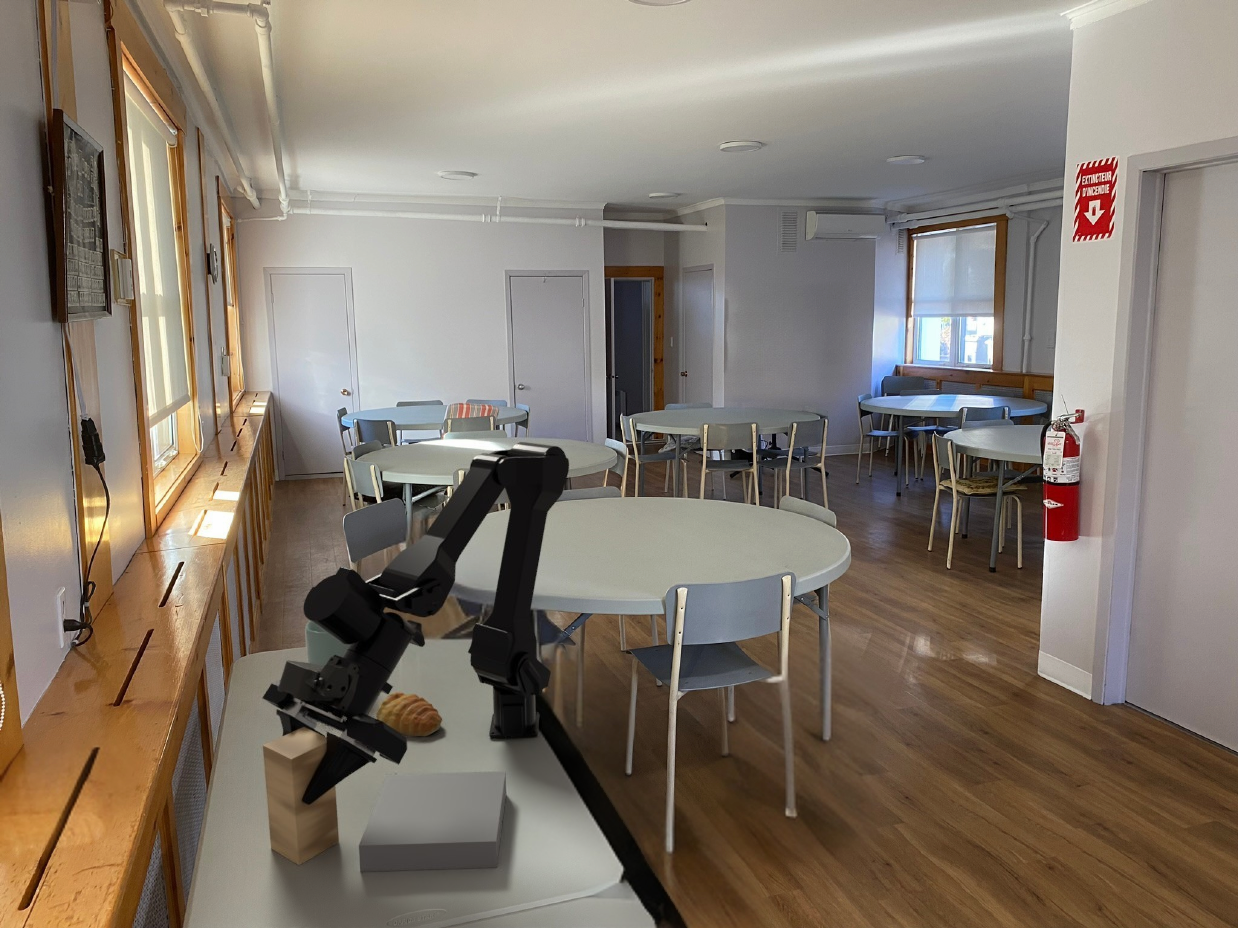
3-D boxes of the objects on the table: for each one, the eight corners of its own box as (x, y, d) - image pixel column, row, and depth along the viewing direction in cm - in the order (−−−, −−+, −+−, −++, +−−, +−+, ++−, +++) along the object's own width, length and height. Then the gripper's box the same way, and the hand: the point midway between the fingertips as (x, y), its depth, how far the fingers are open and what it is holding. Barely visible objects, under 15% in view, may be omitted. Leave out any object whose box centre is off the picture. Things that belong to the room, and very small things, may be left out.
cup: (308, 679, 140) (303, 617, 138) (360, 671, 143) (356, 611, 141) (310, 699, 133) (305, 635, 131) (364, 691, 136) (361, 628, 134)
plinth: (387, 797, 107) (386, 774, 107) (506, 794, 108) (505, 771, 107) (360, 871, 94) (358, 845, 93) (496, 867, 94) (496, 841, 94)
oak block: (310, 826, 102) (303, 726, 99) (339, 841, 99) (332, 739, 96) (270, 848, 98) (262, 744, 95) (299, 864, 95) (291, 759, 92)
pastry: (454, 725, 126) (453, 700, 125) (418, 746, 120) (416, 719, 119) (407, 708, 131) (406, 683, 130) (370, 727, 125) (369, 701, 125)
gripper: (271, 611, 102) (185, 740, 96) (380, 649, 91) (291, 797, 85) (334, 655, 110) (258, 777, 103) (441, 694, 99) (364, 834, 93)
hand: (289, 794), depth 96 cm, fingers closed on oak block, 5 cm apart
